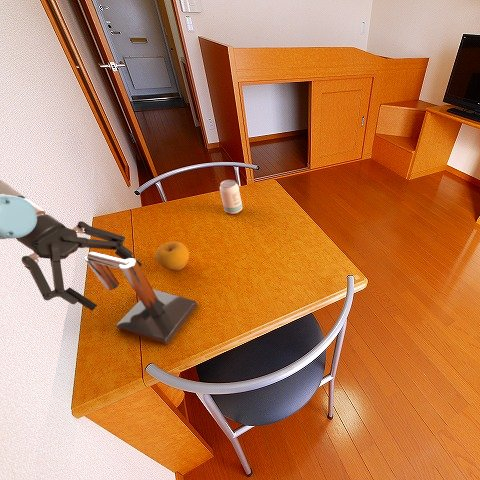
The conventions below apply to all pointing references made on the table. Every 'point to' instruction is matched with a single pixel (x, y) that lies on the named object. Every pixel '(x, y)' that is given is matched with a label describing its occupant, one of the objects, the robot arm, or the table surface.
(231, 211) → the beverage can
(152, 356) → the table surface
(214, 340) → the table surface
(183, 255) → the apple
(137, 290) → the spout
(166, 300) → the tap base
